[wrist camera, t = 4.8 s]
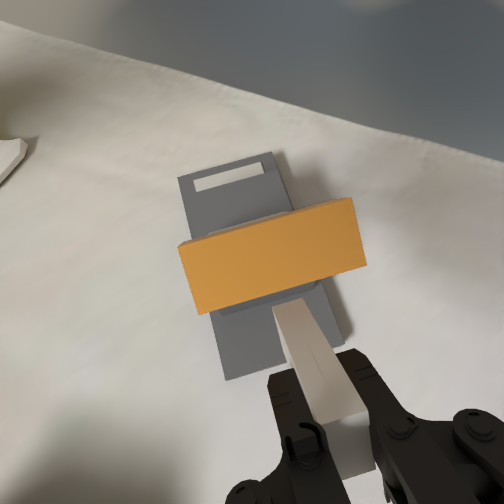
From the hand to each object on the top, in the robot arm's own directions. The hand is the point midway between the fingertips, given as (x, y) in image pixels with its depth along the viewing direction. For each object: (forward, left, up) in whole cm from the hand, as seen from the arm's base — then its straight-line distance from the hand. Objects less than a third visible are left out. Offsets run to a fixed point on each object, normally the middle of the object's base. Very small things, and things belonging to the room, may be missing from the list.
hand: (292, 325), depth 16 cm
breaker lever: (-8, +4, -8) cm, 12 cm away
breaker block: (-8, +4, -13) cm, 16 cm away
